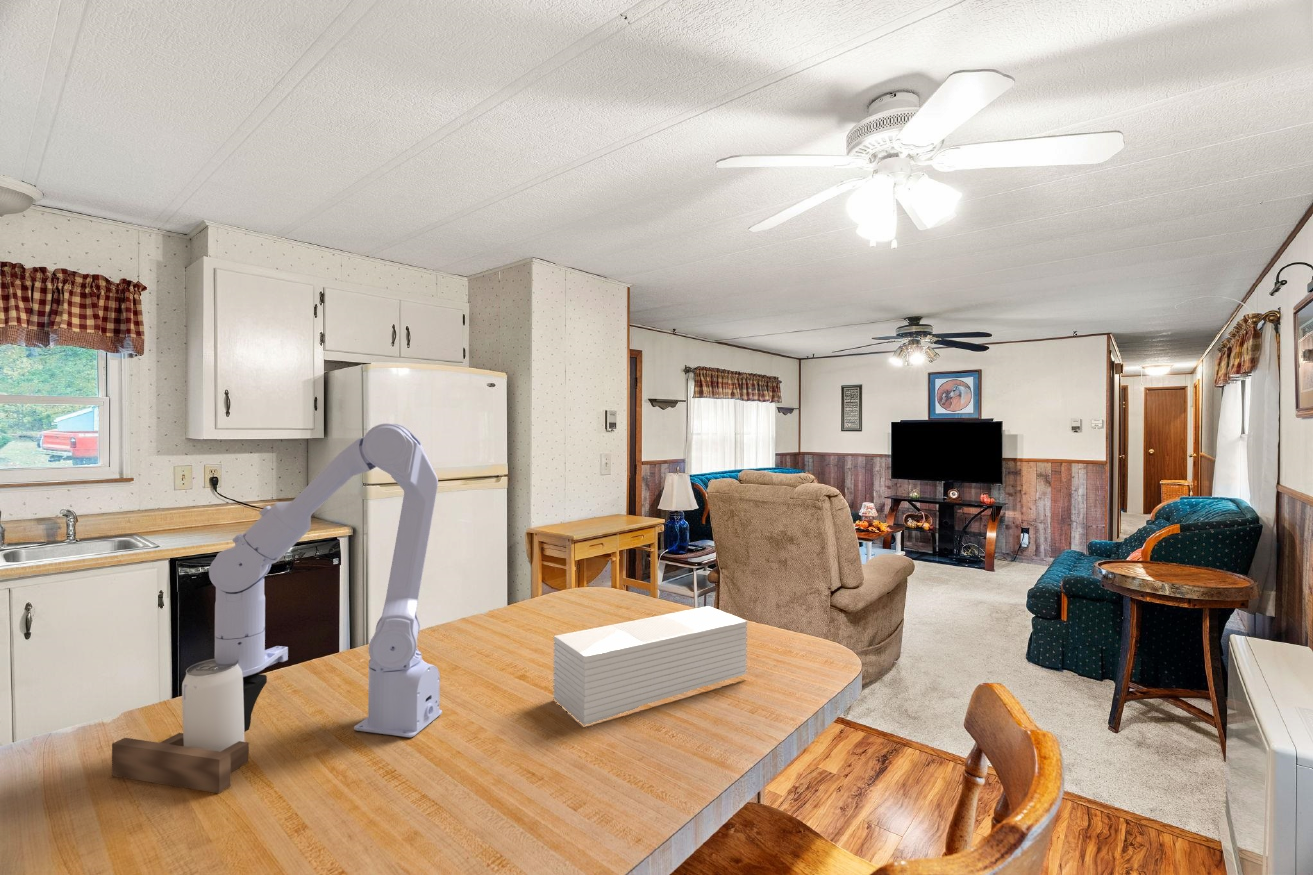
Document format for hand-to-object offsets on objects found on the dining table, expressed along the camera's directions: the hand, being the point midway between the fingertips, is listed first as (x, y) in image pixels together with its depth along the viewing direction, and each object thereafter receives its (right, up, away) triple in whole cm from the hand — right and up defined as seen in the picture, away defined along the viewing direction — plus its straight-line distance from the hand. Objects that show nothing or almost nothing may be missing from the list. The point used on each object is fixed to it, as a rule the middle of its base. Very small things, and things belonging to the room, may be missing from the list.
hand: (239, 730), depth 84 cm
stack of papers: (+57, -3, +19) cm, 60 cm away
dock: (-1, -2, -7) cm, 7 cm away
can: (-1, -2, -4) cm, 4 cm away
